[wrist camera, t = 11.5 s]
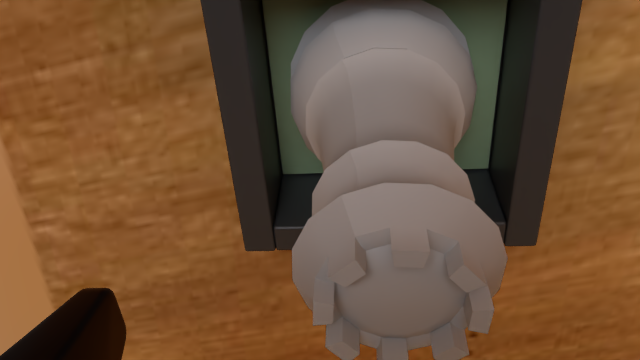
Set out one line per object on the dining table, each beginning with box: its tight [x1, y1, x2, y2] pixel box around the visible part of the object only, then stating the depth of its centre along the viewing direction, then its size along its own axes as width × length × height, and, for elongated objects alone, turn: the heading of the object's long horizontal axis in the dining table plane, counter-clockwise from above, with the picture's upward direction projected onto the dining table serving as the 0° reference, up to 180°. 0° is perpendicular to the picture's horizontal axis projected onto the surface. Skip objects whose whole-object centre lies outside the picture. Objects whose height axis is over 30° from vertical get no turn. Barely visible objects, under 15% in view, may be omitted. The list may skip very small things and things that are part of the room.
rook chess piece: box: [290, 0, 508, 360], centre depth 12 cm, size 4×4×8 cm
